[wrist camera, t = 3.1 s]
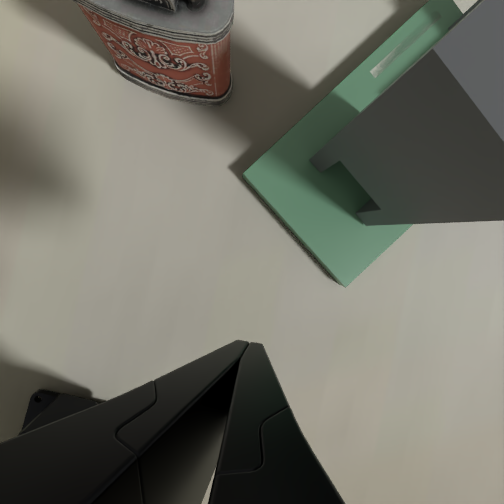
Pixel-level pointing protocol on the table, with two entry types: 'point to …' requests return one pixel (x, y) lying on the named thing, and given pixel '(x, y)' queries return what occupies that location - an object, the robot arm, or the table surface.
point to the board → (337, 176)
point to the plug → (434, 132)
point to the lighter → (169, 45)
